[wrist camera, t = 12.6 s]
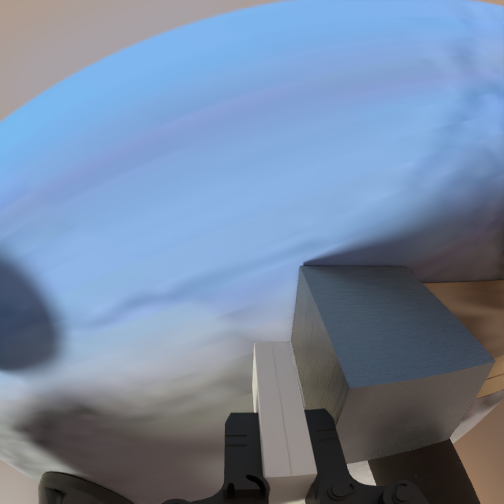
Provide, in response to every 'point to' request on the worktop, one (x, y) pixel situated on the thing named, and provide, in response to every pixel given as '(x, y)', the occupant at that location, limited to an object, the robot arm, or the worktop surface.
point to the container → (428, 473)
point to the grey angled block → (383, 358)
